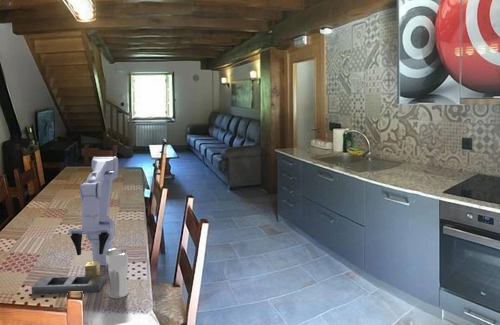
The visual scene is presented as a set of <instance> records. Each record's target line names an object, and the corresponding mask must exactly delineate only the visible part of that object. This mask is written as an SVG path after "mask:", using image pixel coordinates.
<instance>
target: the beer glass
mask: <svg viewBox="0 0 500 325" xmlns="http://www.w3.org/2000/svg"><path fill="white" fill-rule="evenodd" d="M105 269H106V273H107V278H108V281H109V292H108V296H109V297H110V298H111V299H114V298H115V300H116V299H117V300H118V299H123V298H125V297H127V295H128V294H129V289H128V285H127V283H128V282H127V279H128V273H129V257H128V250H127V249H125V248H113V249H112V250H109V251H107V252H106V266H105Z"/></svg>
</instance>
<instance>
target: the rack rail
mask: <svg viewBox="0 0 500 325" xmlns="http://www.w3.org/2000/svg"><path fill="white" fill-rule="evenodd" d="M106 276H107V275H106V274H101V275H84V274H83V275H50V276H49V275H48V276H47V275H45V276H44V275H43V276H41V277H40V278H38V280H37V281H36V282H35V283H34V284H32V286H31V294H32V295H38V294H39V295H41V294H68V293H67V292H68V291H83V292H82V293H99V292H101V290H102V289H103V286H104V285H105V283H106V282H107V279H106V278H107V277H106Z"/></svg>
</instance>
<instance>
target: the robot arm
mask: <svg viewBox="0 0 500 325" xmlns="http://www.w3.org/2000/svg"><path fill="white" fill-rule="evenodd" d="M91 169H92V172H90V173H89V174H88V176H87V179H86V180H85V182H83V183H81V184H80V186H79V198H80V204H81V227H80V228H69V229H68V232H67V235H68V236H70V235H71V236H70V240H71V241H72V243H73V245H74V248H75V250H76V251H75V252H76V255H77V256H81V255H82V240H83V239H82V238H83V235H85V236H86V239H87V241H89V243H90V244H91V256H92V261H100V267H103V266H105V267H106V252H107V251H109V250H112V249H114V243H113V242H114V241H113V240H114V238H115V233H116V228H115V221H114V220H113V219H112V218H111V217H109V213H110V204H111V203H110V202H111V196H112V186H113V182H114V180H115V179H117V178H118V173H119V158H118V157H117V156H93V157H92V160H91Z"/></svg>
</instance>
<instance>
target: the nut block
mask: <svg viewBox="0 0 500 325" xmlns="http://www.w3.org/2000/svg"><path fill="white" fill-rule="evenodd" d="M84 270H85V271H84V272H85V273H84V274H85V275H102V274H101V266H100V261H93V260H92V261H88V262H86V264H85V265H84Z"/></svg>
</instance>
